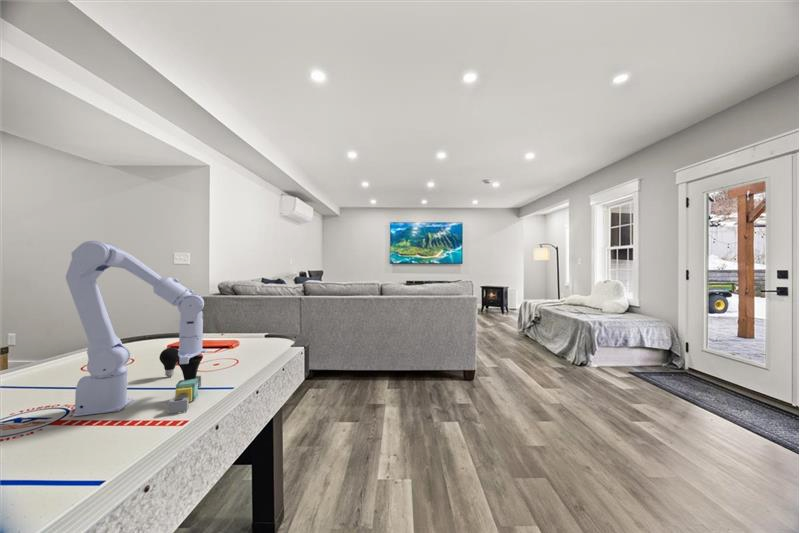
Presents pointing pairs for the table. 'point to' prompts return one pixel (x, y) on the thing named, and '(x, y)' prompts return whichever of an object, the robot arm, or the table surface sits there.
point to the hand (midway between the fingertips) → (190, 382)
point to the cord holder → (182, 398)
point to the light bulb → (169, 360)
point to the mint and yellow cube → (189, 383)
